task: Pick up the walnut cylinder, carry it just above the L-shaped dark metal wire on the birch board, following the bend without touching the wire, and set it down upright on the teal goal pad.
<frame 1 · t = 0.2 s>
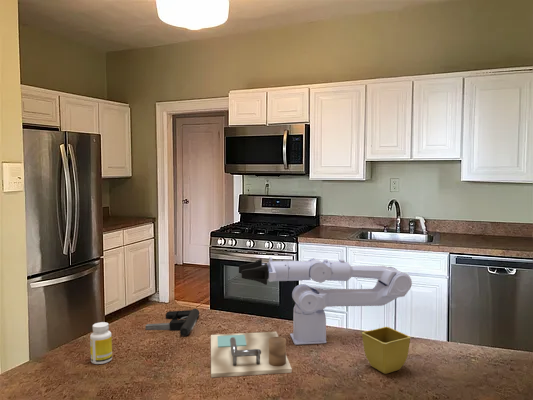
hand: (240, 271, 131), 21 cm above the countertop, tool horizontal, fingers open, 7 cm apart
supplement bottle: (101, 361, 121), on the countertop
birch board: (247, 353, 125), on the countertop
flower pot: (385, 369, 116), on the countertop
door handle: (173, 327, 148), on the countertop
walnut cylinder: (277, 362, 117), point 1 cm above the countertop, touching birch board
bent wire: (245, 350, 120), on the birch board, point 3 cm above the countertop
goal pad: (231, 344, 132), resting on birch board
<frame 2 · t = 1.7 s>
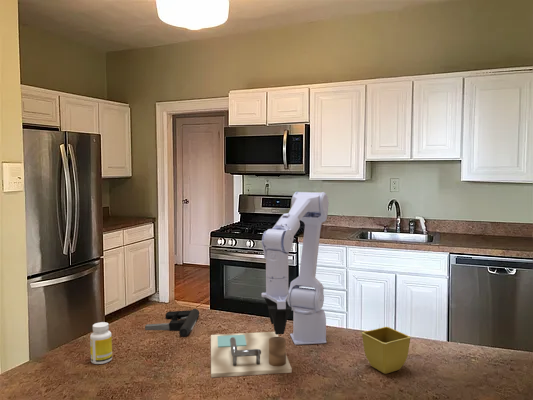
hand: (277, 328, 116), 10 cm above the countertop, tool pointing down, fingers open, 7 cm apart
nothing on the countertop moved.
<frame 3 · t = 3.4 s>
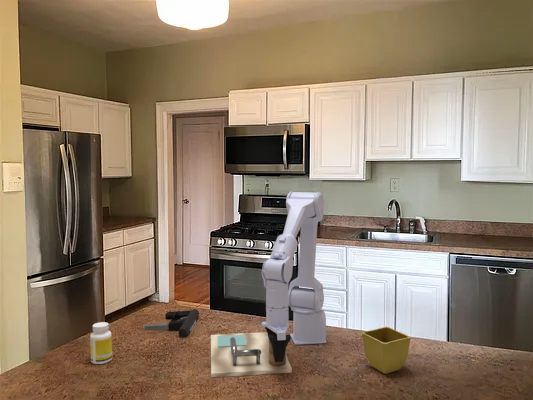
hand: (277, 357, 117), 2 cm above the countertop, tool pointing down, fingers closed on walnut cylinder, 4 cm apart
walnut cylinder: (277, 362, 117), point 1 cm above the countertop, touching birch board, gripper
everything else where it was.
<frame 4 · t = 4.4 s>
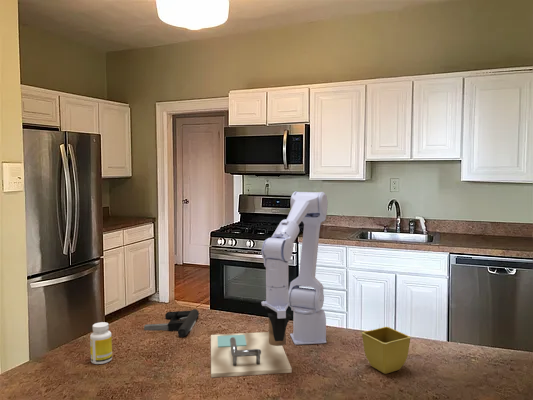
hand: (277, 336, 117), 8 cm above the countertop, tool pointing down, fingers closed on walnut cylinder, 4 cm apart
walnut cylinder: (277, 342, 117), point 6 cm above the countertop, touching gripper
everything else where it was.
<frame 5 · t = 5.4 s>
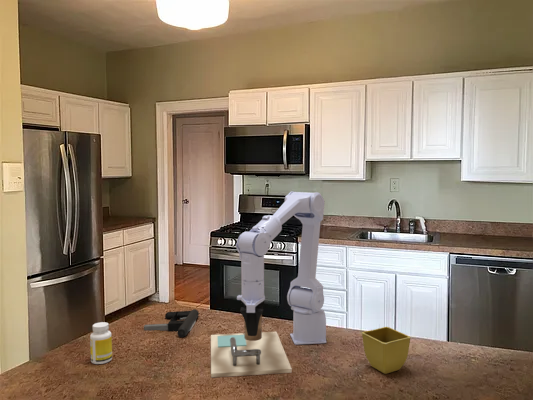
hand: (253, 331, 116), 9 cm above the countertop, tool pointing down, fingers closed on walnut cylinder, 4 cm apart
walnut cylinder: (253, 337, 116), point 8 cm above the countertop, touching gripper
everything else where it was.
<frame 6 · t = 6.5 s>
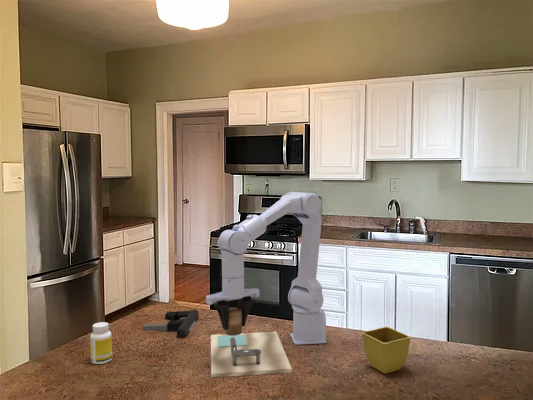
hand: (233, 326, 120), 9 cm above the countertop, tool pointing down, fingers closed on walnut cylinder, 4 cm apart
walnut cylinder: (233, 332, 120), point 8 cm above the countertop, touching gripper
everything else where it was.
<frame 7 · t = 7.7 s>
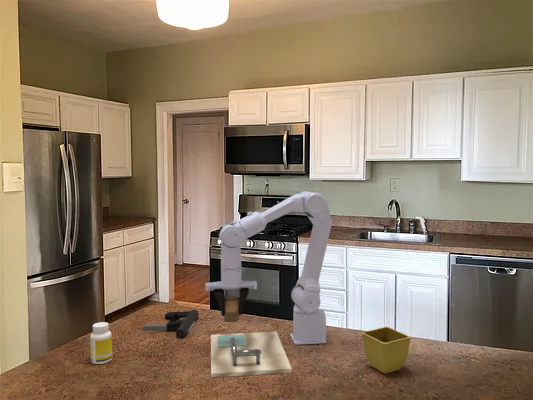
hand: (231, 314, 130), 9 cm above the countertop, tool pointing down, fingers closed on walnut cylinder, 4 cm apart
walnut cylinder: (231, 319, 130), point 8 cm above the countertop, touching gripper
when the fingers open (4 cm above the countertop, at t = 9.7 s): walnut cylinder drops 1 cm, resting on goal pad.
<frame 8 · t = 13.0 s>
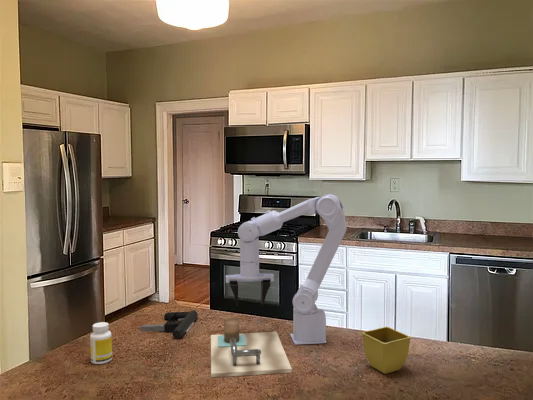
hand: (249, 304, 139), 9 cm above the countertop, tool pointing down, fingers open, 7 cm apart
walnut cylinder: (231, 340, 131), point 1 cm above the countertop, touching goal pad
at the end: walnut cylinder 0.0 cm off-centre on the goal pad, point 1.3 cm above the goal pad's base; walnut cylinder tilted 1°; walnut cylinder touching goal pad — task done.
